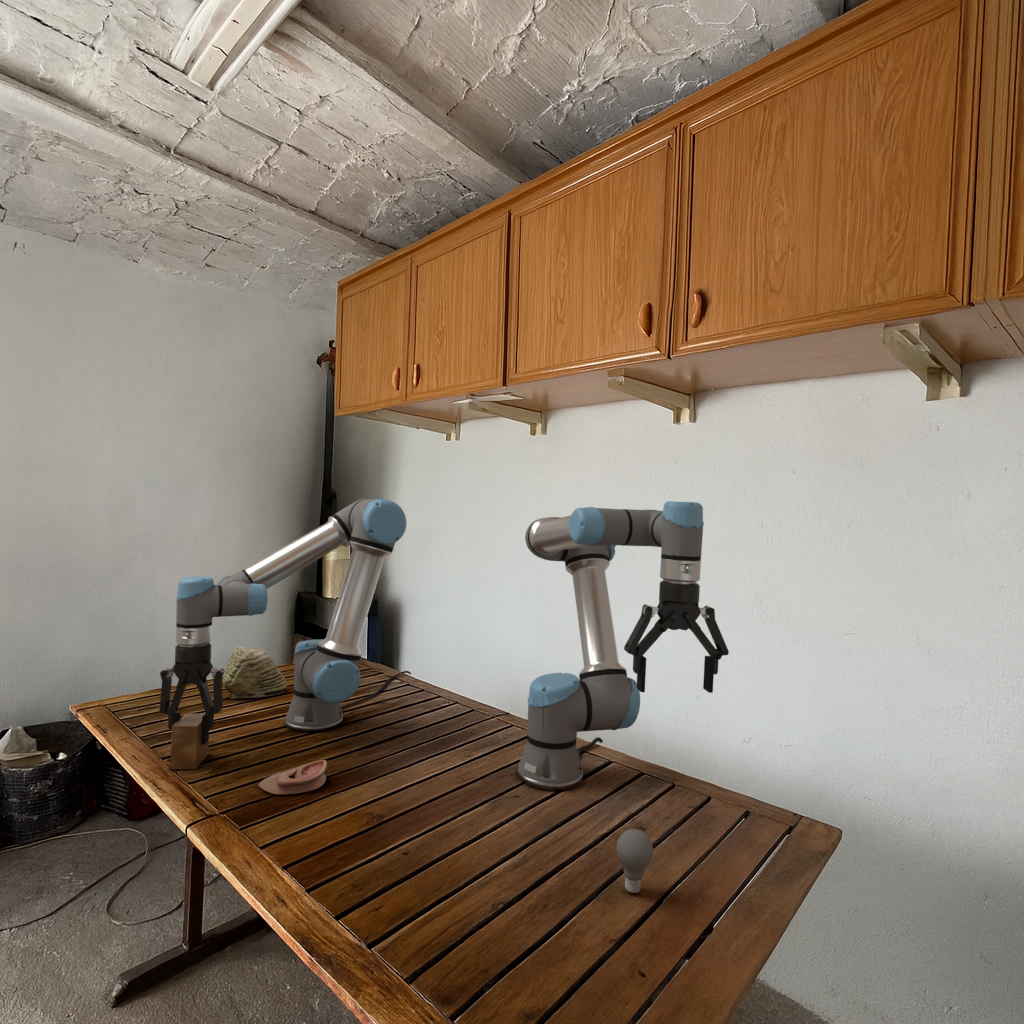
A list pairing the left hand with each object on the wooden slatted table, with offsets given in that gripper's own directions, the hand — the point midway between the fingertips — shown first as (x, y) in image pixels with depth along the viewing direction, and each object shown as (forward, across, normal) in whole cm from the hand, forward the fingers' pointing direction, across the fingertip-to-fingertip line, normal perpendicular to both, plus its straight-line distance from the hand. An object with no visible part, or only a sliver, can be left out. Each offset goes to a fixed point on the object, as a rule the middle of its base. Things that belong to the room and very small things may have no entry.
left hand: (190, 742), depth 148 cm
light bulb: (+5, +90, -54) cm, 104 cm away
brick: (+5, 0, 0) cm, 5 cm away
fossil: (+5, +1, +51) cm, 51 cm away
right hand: (-24, +102, -37) cm, 111 cm away
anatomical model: (+5, +26, -12) cm, 29 cm away
